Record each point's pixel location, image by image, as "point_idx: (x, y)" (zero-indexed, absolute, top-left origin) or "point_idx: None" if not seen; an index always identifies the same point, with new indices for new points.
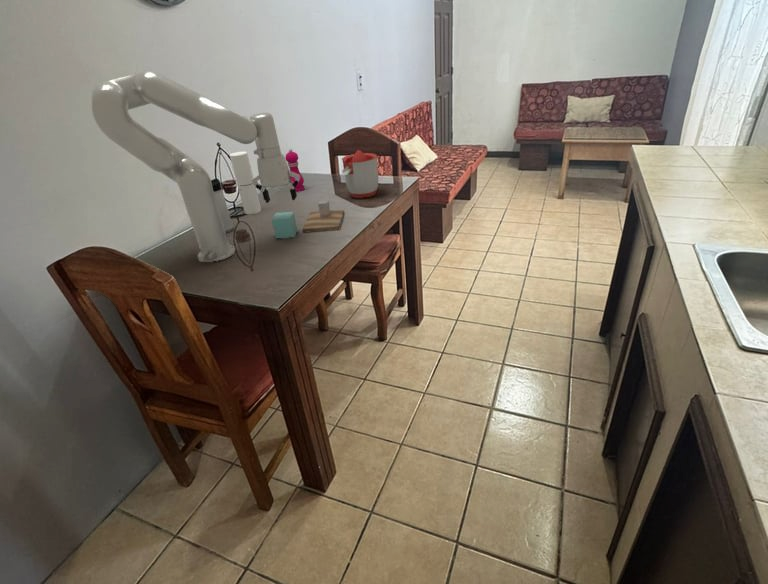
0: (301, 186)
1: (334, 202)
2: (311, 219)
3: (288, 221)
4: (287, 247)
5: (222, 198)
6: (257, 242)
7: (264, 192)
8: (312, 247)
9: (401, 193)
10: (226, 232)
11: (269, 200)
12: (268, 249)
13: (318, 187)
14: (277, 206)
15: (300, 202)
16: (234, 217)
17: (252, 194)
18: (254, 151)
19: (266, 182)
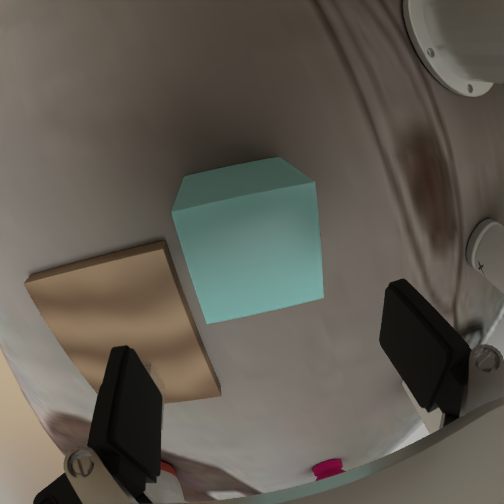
0: (318, 473)
1: (193, 445)
2: (177, 344)
3: (188, 199)
4: (168, 59)
5: None
6: (358, 119)
7: (459, 351)
8: (48, 85)
9: (64, 454)
10: (480, 223)
11: (382, 327)
12: (265, 34)
13: (281, 478)
14: (361, 409)
15: (300, 436)
16: (462, 330)
17: (438, 410)
18: None
19: (499, 484)
